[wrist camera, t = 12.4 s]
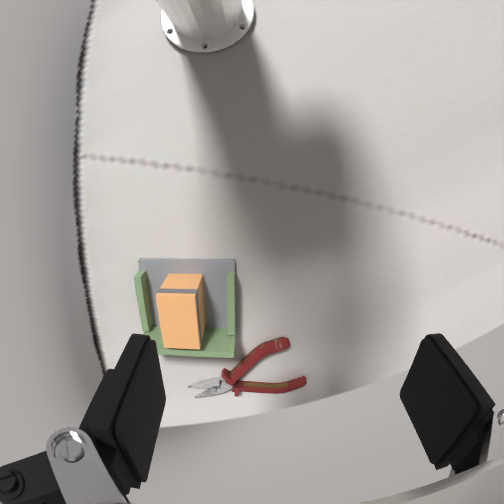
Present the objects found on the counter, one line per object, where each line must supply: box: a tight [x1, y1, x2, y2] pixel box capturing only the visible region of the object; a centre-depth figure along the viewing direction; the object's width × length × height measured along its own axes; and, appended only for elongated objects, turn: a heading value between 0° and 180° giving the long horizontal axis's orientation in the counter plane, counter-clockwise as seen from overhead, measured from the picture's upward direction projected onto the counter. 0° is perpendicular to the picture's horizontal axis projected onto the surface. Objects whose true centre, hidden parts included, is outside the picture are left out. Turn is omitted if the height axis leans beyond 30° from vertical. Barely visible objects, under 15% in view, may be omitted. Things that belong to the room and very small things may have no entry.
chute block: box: [156, 274, 206, 349], centre depth 41 cm, size 8×5×7 cm, turn 0°
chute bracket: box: [134, 258, 236, 358], centre depth 42 cm, size 12×14×7 cm
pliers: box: [188, 337, 306, 398], centre depth 50 cm, size 12×20×3 cm, turn 112°
